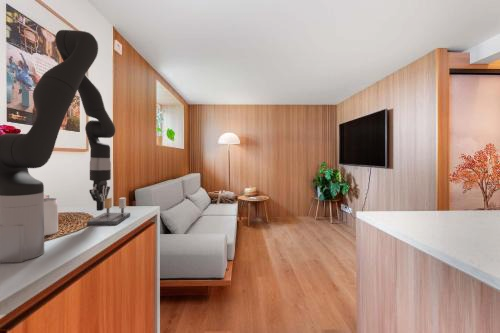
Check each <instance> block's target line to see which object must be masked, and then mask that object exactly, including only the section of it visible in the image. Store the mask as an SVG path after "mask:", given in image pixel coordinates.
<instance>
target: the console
mask: <svg viewBox="0 0 500 333" xmlns="http://www.w3.org/2000/svg"><path fill="white" fill-rule="evenodd" d="M129 217H131V212H124V213H121V212H109V213H108V214H107V212H104V213H101V214H100V215H97V216H95V217H94V218H91V219H90V220H87V221H86V226H117V225H118V224H120V223H122V222H123V221H125V220H127V219H128V218H129Z"/></svg>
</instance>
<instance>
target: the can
mask: <svg viewBox="0 0 500 333" xmlns="http://www.w3.org/2000/svg"><path fill="white" fill-rule="evenodd" d="M58 232H59V203H58V202H57V198H54V197H53V198H52V197H51V198H50V197H49V198H44V237H47V236H46V235H48V236H53V235H55V234H57V233H58ZM52 234H53V235H52Z"/></svg>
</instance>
